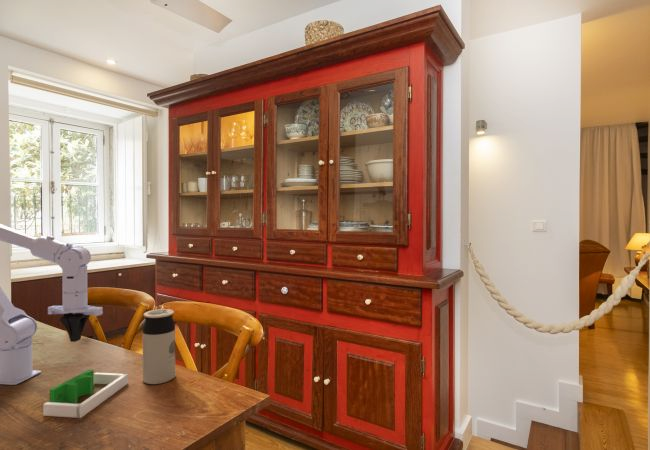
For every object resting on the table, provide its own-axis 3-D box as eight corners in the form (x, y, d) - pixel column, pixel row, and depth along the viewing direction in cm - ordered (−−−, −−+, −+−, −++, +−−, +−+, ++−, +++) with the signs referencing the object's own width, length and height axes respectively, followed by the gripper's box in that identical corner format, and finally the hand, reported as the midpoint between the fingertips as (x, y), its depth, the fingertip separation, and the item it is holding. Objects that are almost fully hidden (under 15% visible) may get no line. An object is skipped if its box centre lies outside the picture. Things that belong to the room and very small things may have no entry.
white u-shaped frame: (43, 415, 81) (43, 404, 81) (96, 381, 98) (96, 372, 98) (80, 417, 81) (80, 406, 81) (127, 383, 97) (127, 374, 97)
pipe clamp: (63, 411, 84) (63, 391, 84) (49, 409, 85) (49, 389, 84) (102, 388, 95) (102, 370, 95) (89, 386, 96) (89, 369, 95)
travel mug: (135, 383, 97) (135, 315, 97) (156, 370, 105) (156, 307, 105) (162, 386, 96) (162, 317, 95) (181, 374, 103) (181, 309, 103)
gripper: (38, 293, 98) (38, 344, 99) (89, 295, 97) (89, 346, 98) (59, 288, 105) (59, 335, 106) (107, 289, 104) (107, 337, 105)
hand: (75, 340), depth 102 cm, fingers closed
